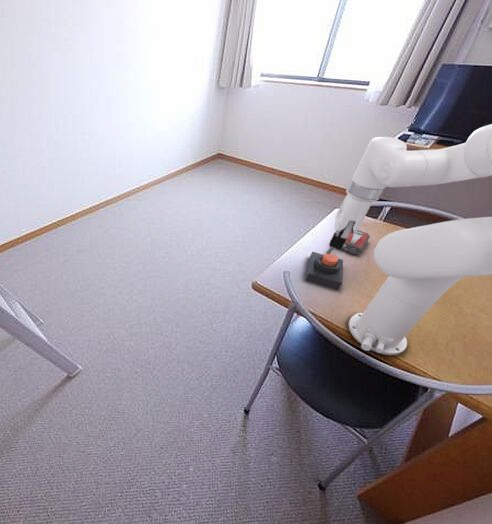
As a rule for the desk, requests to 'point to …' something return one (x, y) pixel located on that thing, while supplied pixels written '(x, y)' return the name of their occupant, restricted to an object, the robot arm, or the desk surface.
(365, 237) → the walkie-talkie
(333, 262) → the pump button
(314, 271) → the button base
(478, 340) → the desk surface
